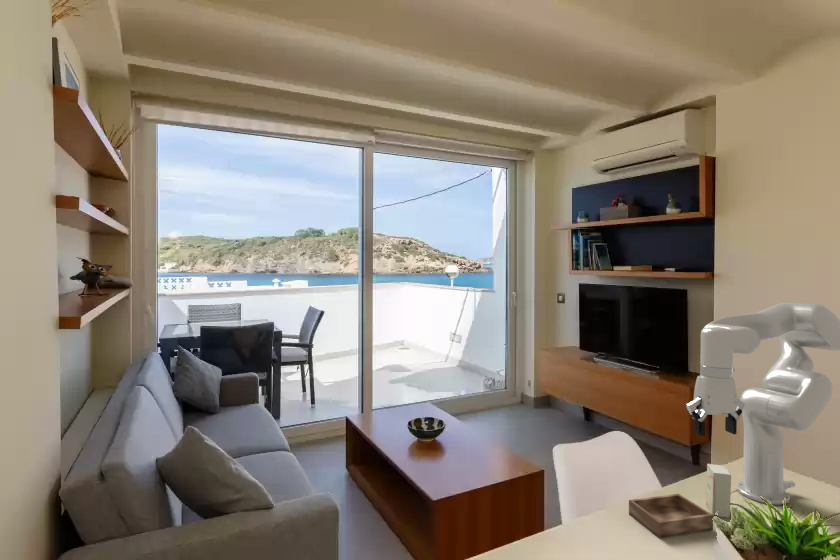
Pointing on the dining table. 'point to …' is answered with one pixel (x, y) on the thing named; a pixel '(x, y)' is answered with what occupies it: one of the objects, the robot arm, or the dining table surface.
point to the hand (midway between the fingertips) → (715, 433)
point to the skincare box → (718, 490)
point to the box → (670, 515)
